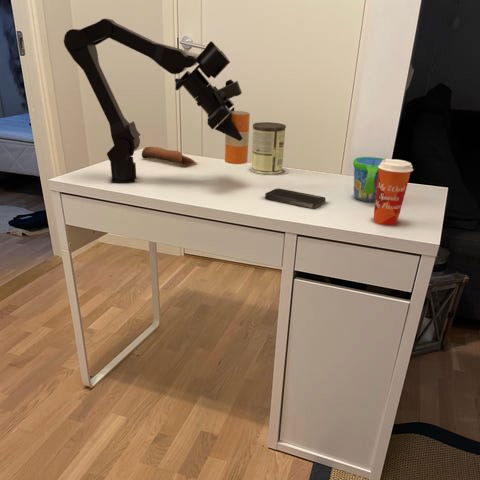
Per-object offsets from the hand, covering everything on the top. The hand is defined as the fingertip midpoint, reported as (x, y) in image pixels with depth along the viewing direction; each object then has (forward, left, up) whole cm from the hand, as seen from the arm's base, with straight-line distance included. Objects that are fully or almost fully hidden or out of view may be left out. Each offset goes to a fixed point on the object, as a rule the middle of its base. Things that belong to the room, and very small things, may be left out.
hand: (241, 137), depth 135 cm
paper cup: (+31, -33, -14) cm, 47 cm away
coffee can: (+12, +18, -14) cm, 25 cm away
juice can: (-1, 0, -7) cm, 7 cm away
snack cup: (+34, -14, -14) cm, 39 cm away
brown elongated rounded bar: (-19, +31, -14) cm, 39 cm away
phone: (+13, -15, -13) cm, 24 cm away
